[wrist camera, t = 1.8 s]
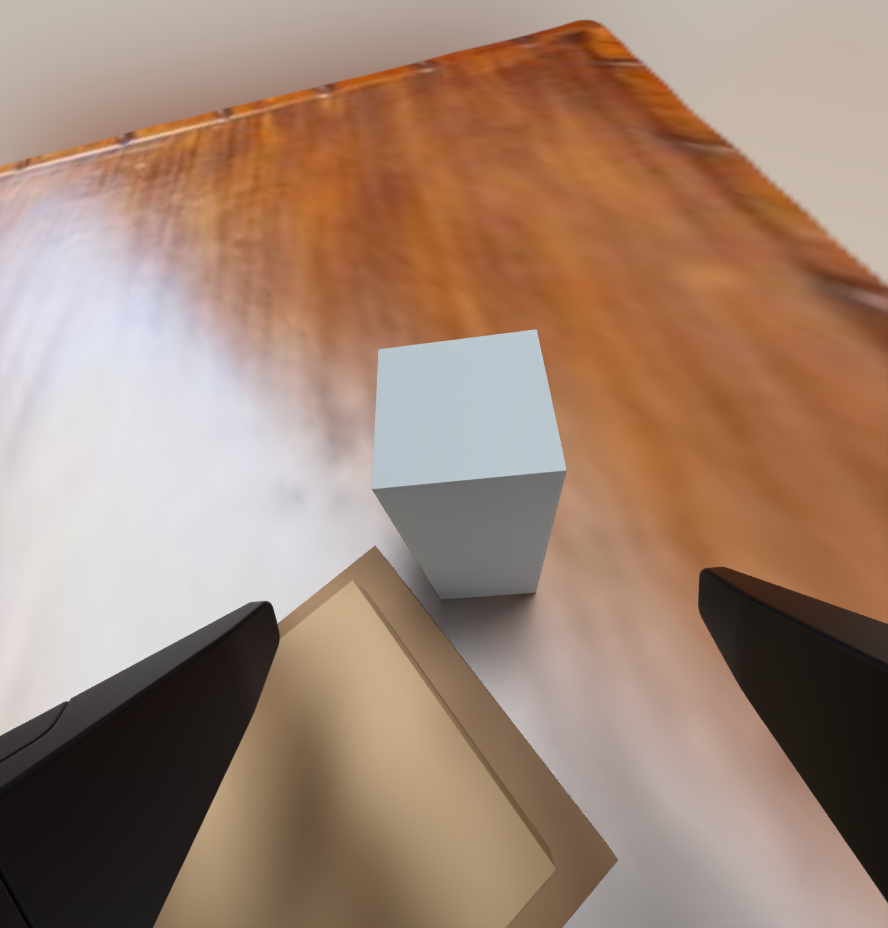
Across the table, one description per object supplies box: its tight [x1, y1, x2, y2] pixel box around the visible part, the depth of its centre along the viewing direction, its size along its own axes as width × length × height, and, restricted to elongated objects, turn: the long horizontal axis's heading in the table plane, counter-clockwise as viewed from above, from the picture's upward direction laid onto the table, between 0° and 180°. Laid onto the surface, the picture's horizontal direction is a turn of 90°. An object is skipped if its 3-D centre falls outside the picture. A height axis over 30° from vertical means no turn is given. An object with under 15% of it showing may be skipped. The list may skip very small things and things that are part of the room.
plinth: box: [153, 546, 618, 928], centre depth 15 cm, size 14×14×4 cm
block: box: [372, 329, 567, 600], centre depth 16 cm, size 4×4×12 cm
